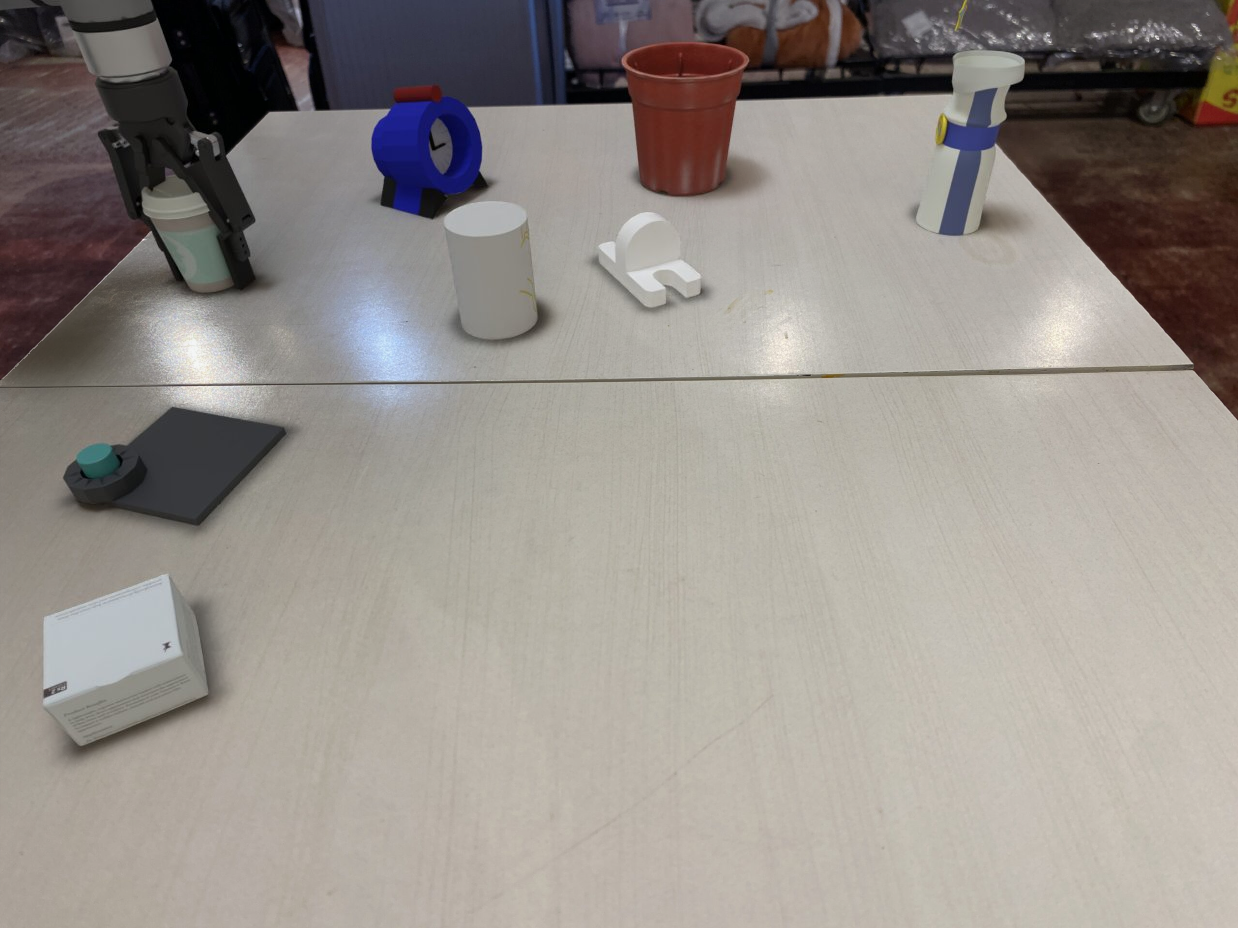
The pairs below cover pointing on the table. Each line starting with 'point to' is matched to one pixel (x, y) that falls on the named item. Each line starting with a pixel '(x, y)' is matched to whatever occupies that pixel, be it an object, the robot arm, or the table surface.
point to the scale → (179, 465)
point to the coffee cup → (188, 234)
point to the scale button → (98, 460)
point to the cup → (492, 268)
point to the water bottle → (967, 140)
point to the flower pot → (683, 112)
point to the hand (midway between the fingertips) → (215, 280)
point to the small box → (121, 660)
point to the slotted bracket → (649, 260)
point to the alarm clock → (426, 150)
